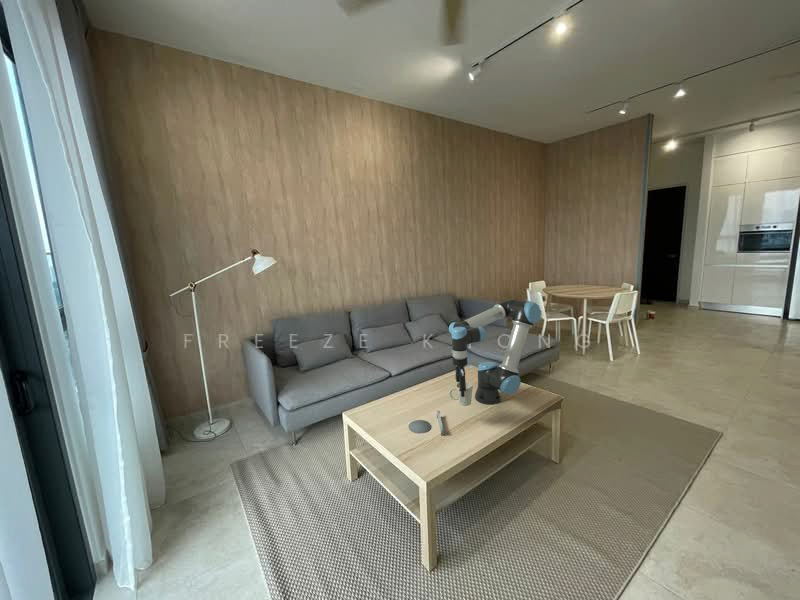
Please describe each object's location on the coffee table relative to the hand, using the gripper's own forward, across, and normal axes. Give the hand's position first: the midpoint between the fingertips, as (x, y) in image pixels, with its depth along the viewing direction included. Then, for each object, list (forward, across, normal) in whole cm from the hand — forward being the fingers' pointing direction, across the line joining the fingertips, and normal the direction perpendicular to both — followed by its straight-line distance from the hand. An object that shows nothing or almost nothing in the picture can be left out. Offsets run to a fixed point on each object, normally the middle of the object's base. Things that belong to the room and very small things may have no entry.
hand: (460, 397), depth 167 cm
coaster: (+15, +1, -23) cm, 27 cm away
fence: (+15, +1, -12) cm, 19 cm away
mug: (+3, 0, 0) cm, 3 cm away
